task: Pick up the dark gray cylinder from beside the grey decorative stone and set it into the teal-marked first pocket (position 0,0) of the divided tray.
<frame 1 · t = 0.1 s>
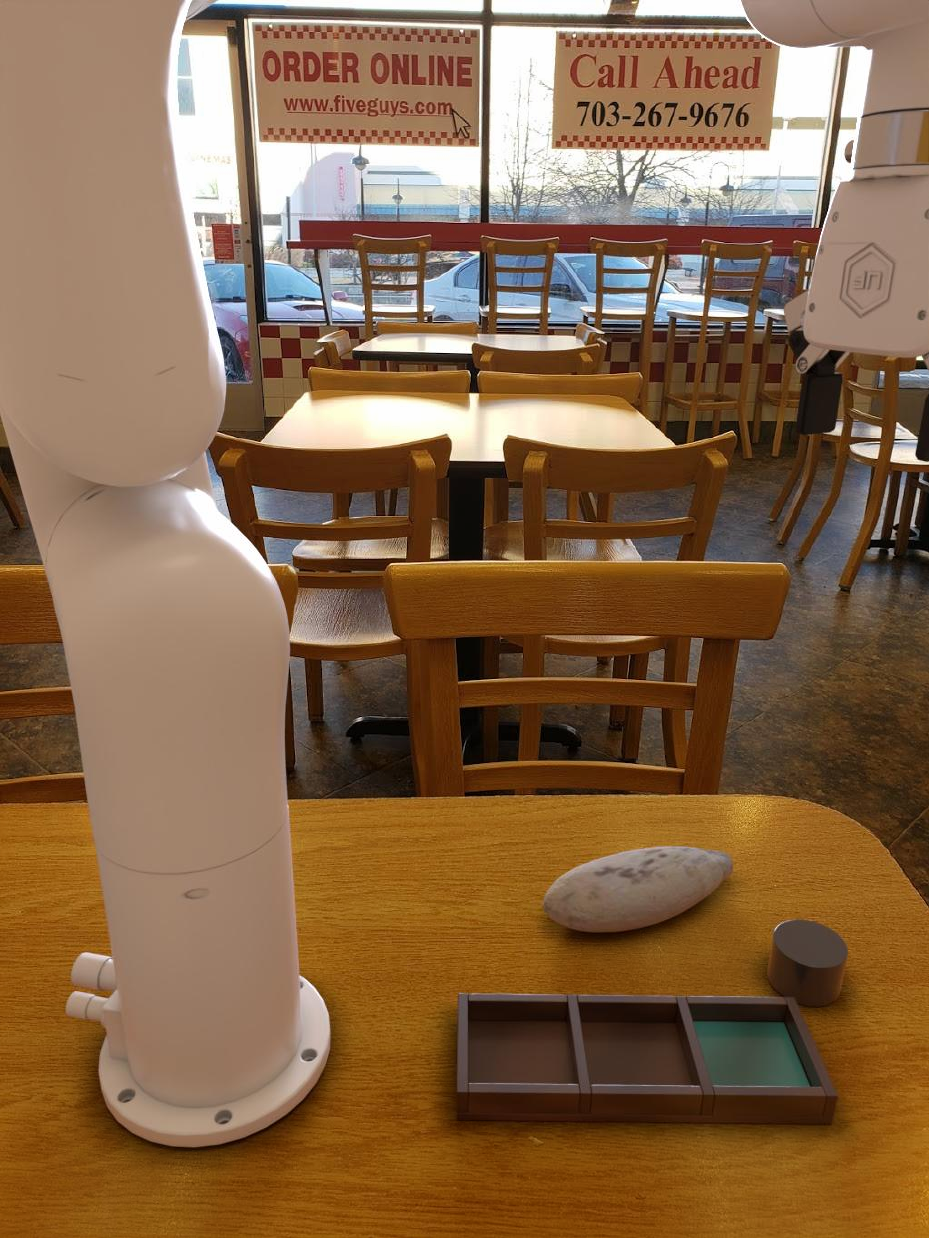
hand: (871, 445, 61), 31 cm above the table, tool pointing down, fingers open, 9 cm apart
decorative stone: (639, 907, 66), on the table
divided tray: (633, 1068, 53), on the table
dark gray cylinder: (803, 980, 59), on the table
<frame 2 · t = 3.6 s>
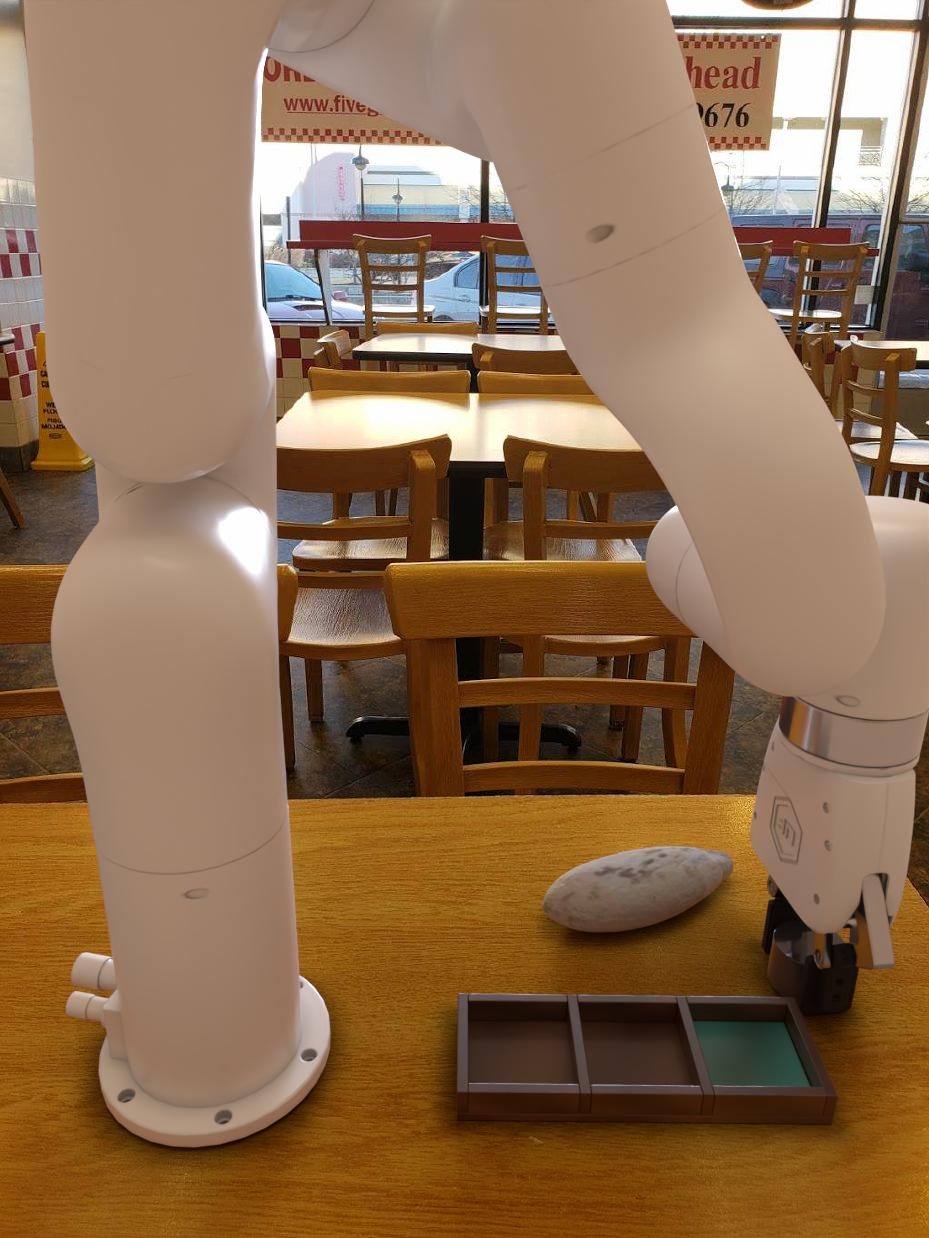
hand: (804, 976, 59), 0 cm above the table, tool pointing down, fingers closed on dark gray cylinder, 4 cm apart
dark gray cylinder: (803, 980, 59), on the table, touching gripper
everything else where it was.
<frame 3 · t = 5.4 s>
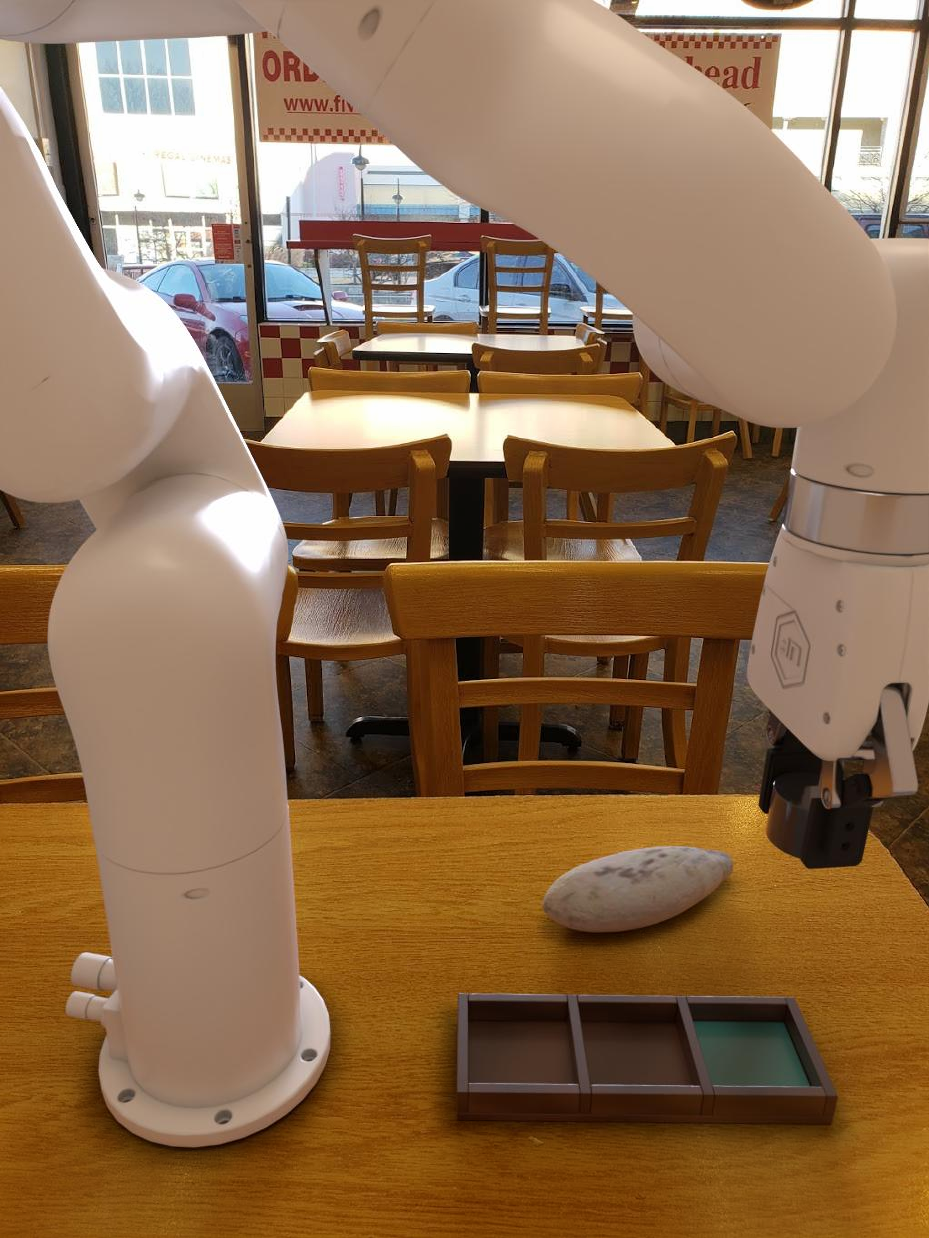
hand: (807, 833, 52), 13 cm above the table, tool pointing down, fingers closed on dark gray cylinder, 4 cm apart
dark gray cylinder: (806, 838, 52), point 13 cm above the table, touching gripper
everything else where it was.
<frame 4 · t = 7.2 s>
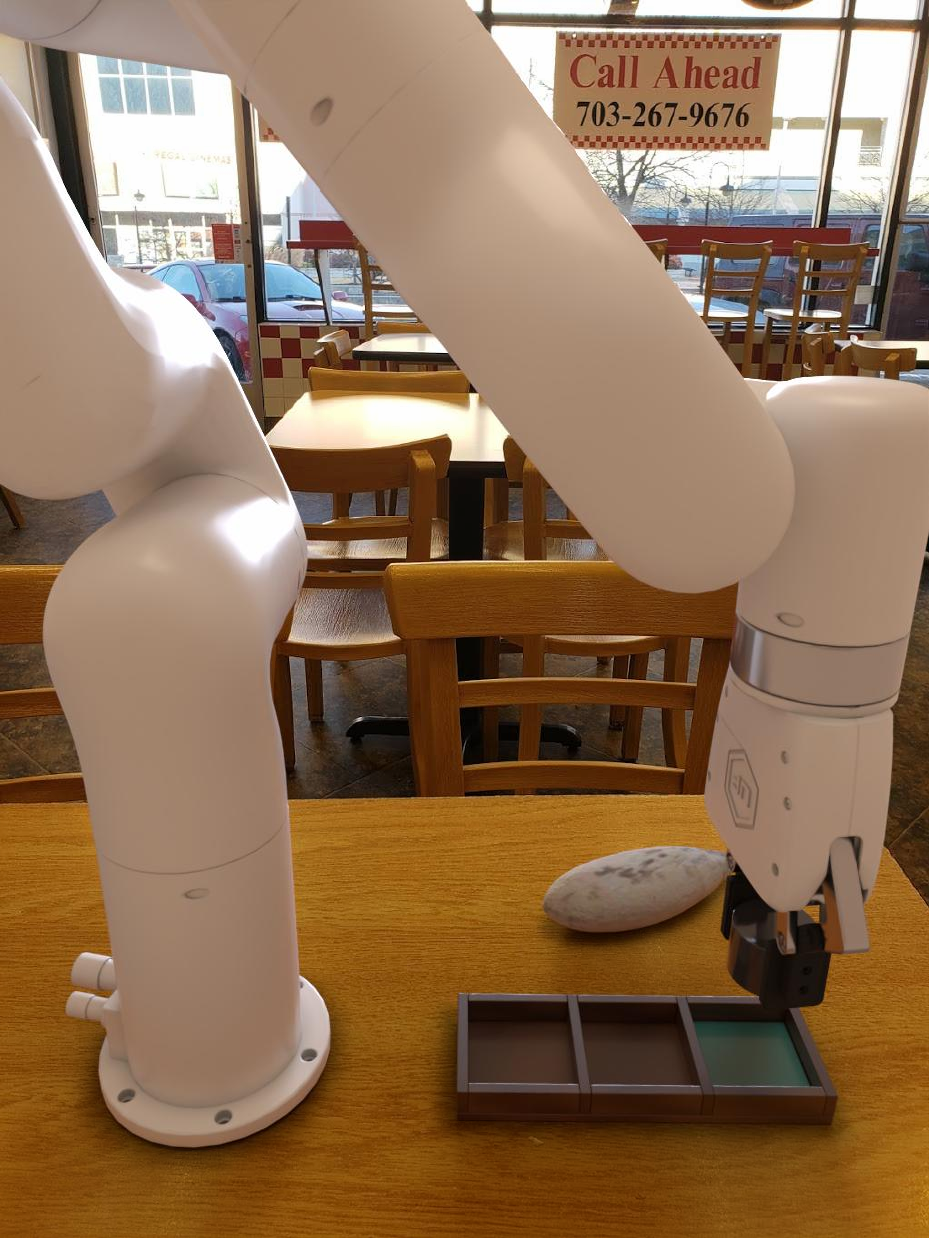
hand: (768, 965, 50), 7 cm above the table, tool pointing down, fingers closed on dark gray cylinder, 4 cm apart
dark gray cylinder: (768, 970, 50), point 7 cm above the table, touching gripper
everything else where it was.
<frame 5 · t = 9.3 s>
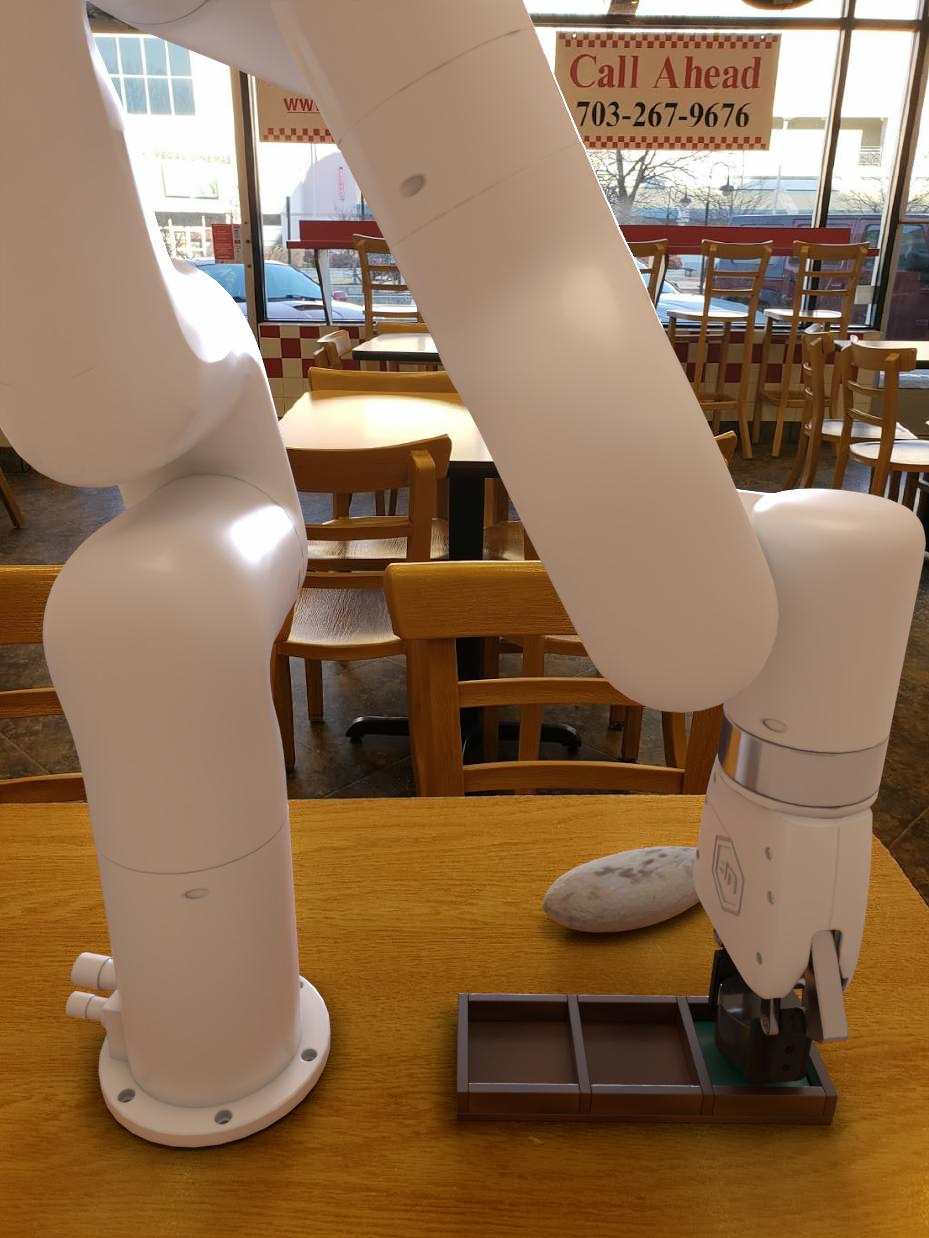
hand: (754, 1038, 52), 2 cm above the table, tool pointing down, fingers closed on dark gray cylinder, 4 cm apart
dark gray cylinder: (753, 1042, 52), point 2 cm above the table, touching gripper
everything else where it was.
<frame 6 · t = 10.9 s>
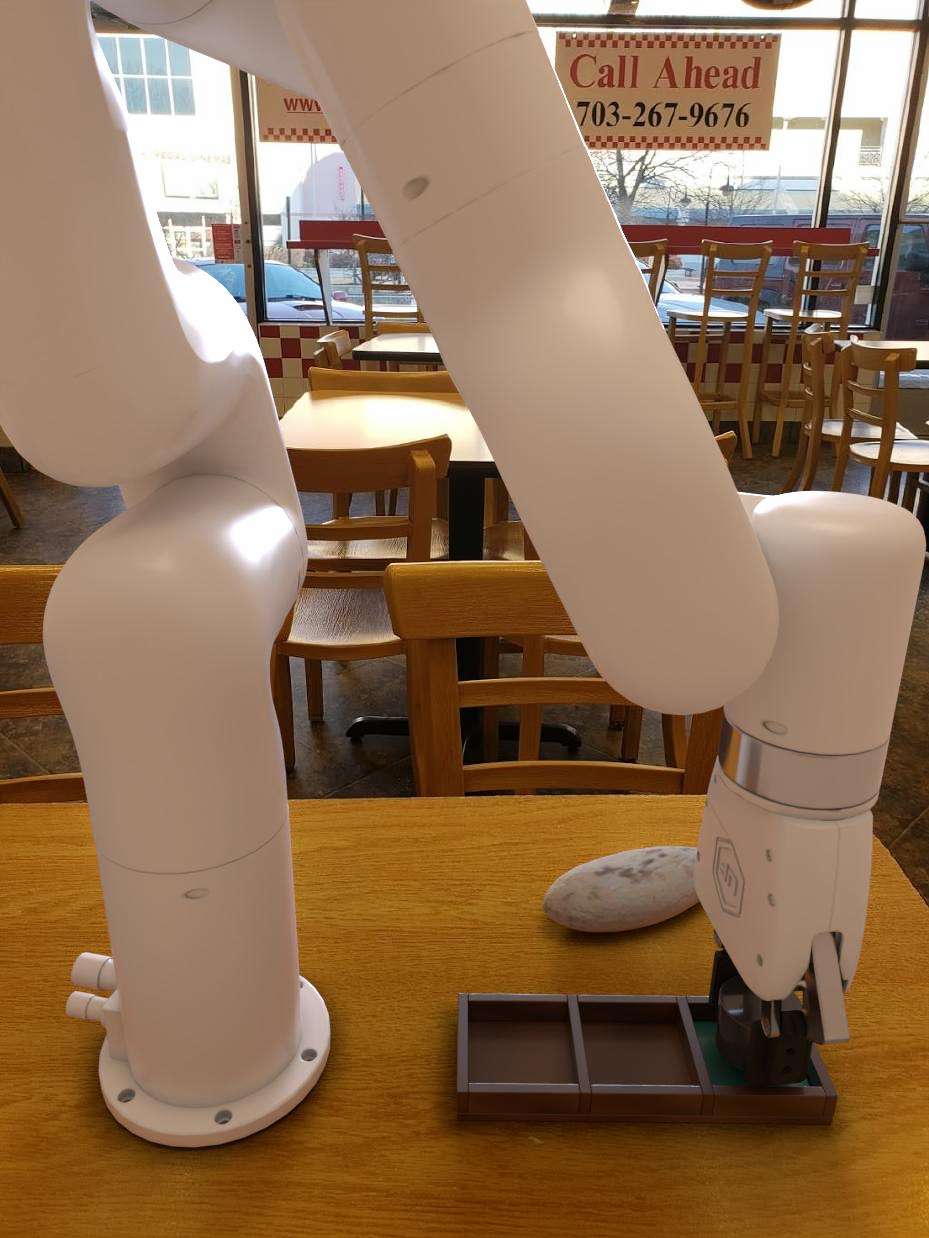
hand: (754, 1039, 52), 2 cm above the table, tool pointing down, fingers closed on dark gray cylinder, 4 cm apart
dark gray cylinder: (754, 1044, 52), point 2 cm above the table, touching gripper
everything else where it was.
when the fingers open (2 cm above the table, at t = 11.0 s): dark gray cylinder drops 1 cm, resting on divided tray.
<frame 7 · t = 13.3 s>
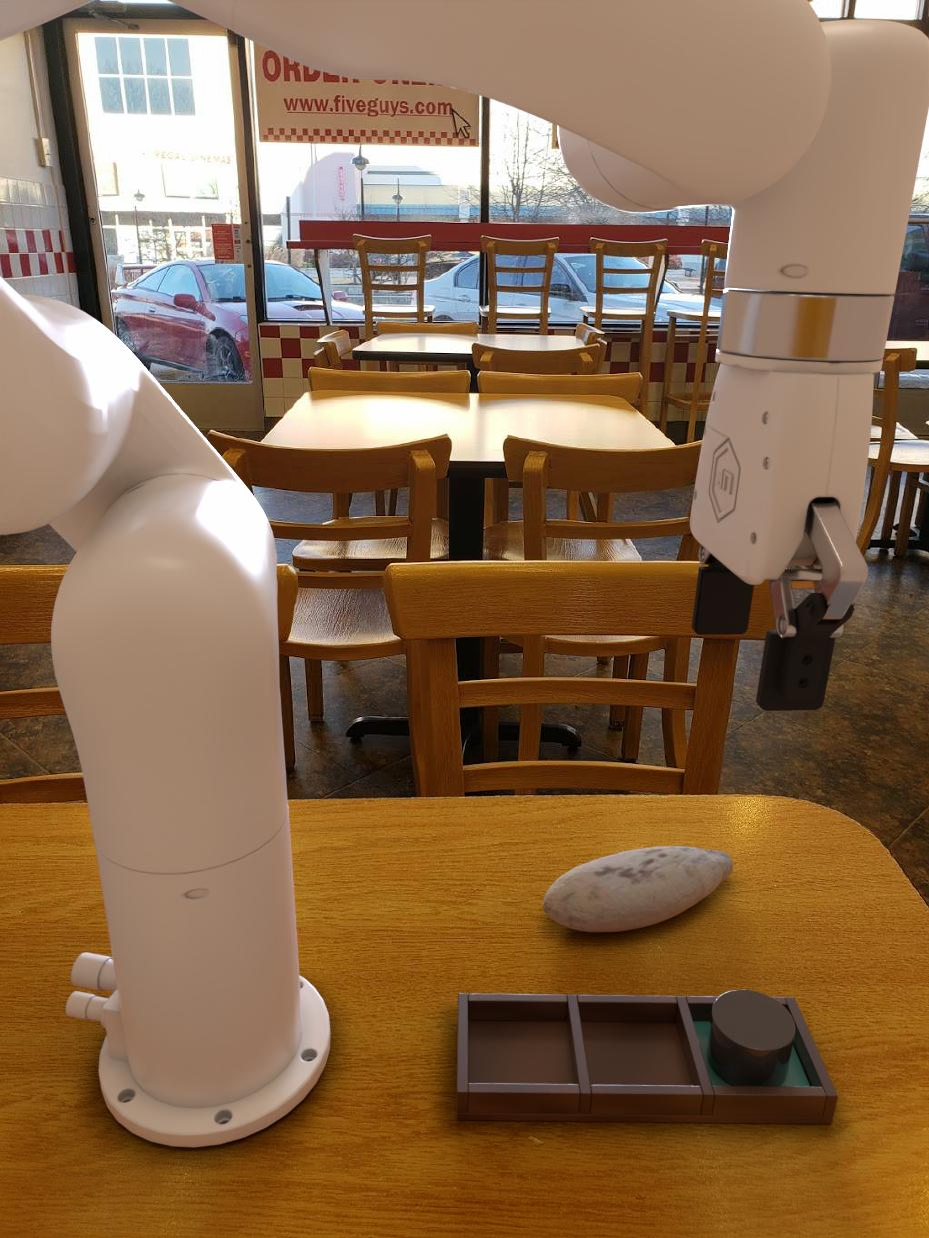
hand: (750, 666, 50), 22 cm above the table, tool pointing down, fingers open, 9 cm apart
dark gray cylinder: (746, 1060, 52), point 1 cm above the table, touching divided tray
everything else where it was.
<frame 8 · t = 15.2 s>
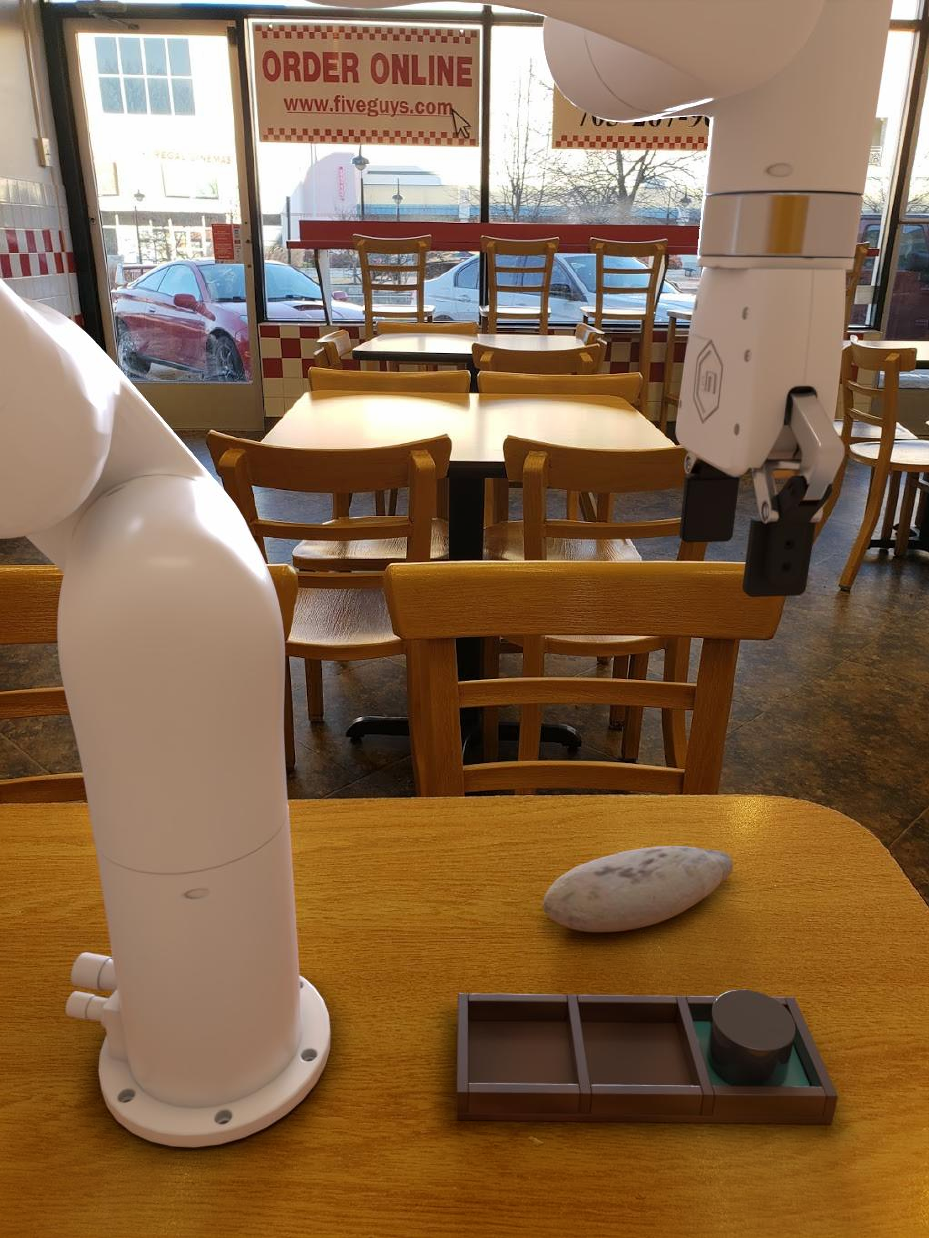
hand: (736, 565, 53), 26 cm above the table, tool pointing down, fingers open, 9 cm apart
nothing on the table moved.
at the end: dark gray cylinder 0.2 cm from the target spot in the divided tray, point 0.7 cm above the divided tray's base; dark gray cylinder tilted 0°; the gripper is holding nothing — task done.
